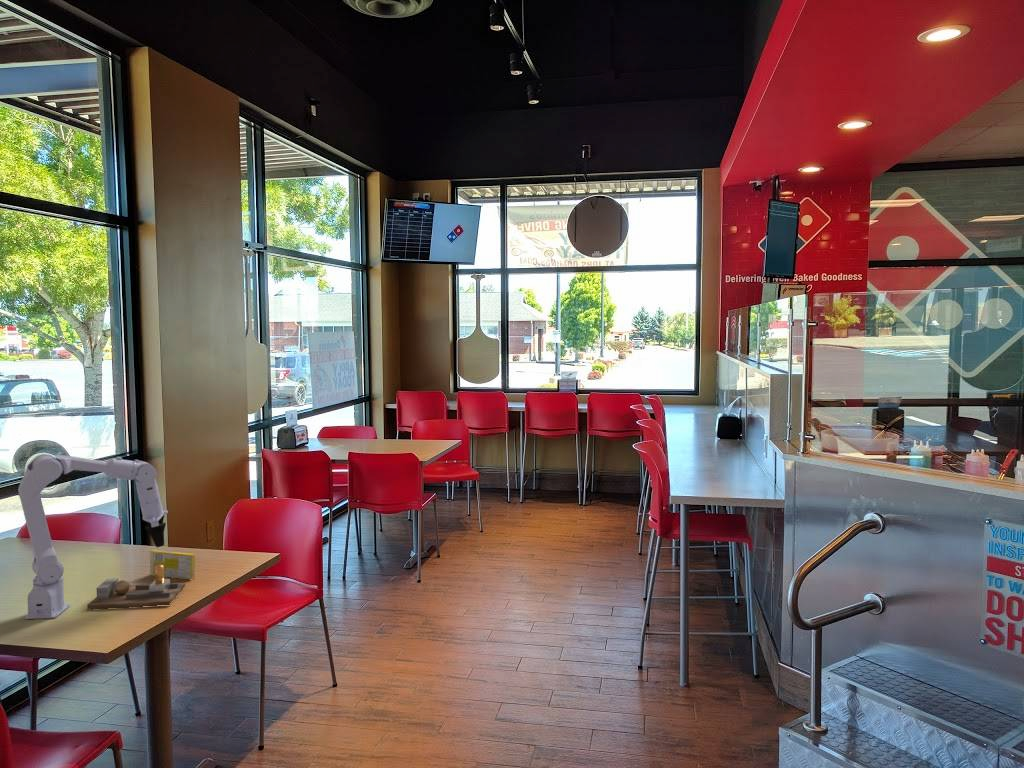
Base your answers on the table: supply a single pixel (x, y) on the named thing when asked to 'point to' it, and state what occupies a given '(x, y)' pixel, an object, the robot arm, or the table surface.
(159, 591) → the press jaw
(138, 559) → the table surface
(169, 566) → the candy box
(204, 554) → the table surface
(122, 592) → the tan oval solid
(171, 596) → the press bench
